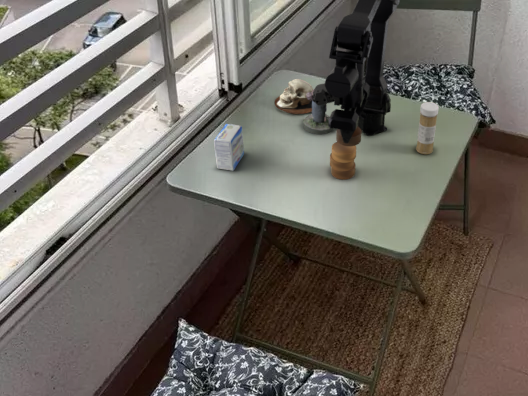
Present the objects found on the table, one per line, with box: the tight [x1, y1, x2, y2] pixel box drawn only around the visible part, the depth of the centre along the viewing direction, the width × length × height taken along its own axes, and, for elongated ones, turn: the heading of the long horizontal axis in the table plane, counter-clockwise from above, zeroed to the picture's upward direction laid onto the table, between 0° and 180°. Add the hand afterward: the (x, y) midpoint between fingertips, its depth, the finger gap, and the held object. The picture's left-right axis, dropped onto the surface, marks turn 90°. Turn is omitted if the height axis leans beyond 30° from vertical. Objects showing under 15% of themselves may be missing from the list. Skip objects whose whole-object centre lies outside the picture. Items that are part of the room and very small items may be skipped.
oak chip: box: [331, 141, 357, 163], centre depth 166 cm, size 6×6×2 cm
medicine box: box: [213, 123, 245, 172], centre depth 169 cm, size 8×4×9 cm, turn 168°
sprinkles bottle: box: [415, 101, 439, 155], centre depth 176 cm, size 5×5×13 cm
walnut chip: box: [335, 126, 363, 146], centre depth 163 cm, size 6×6×2 cm
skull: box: [274, 78, 314, 115], centre depth 194 cm, size 12×10×10 cm
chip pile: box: [329, 152, 356, 181], centre depth 168 cm, size 6×6×5 cm
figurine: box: [302, 89, 334, 135], centre depth 183 cm, size 8×8×12 cm
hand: (348, 135), depth 163 cm, fingers closed on walnut chip, 6 cm apart
